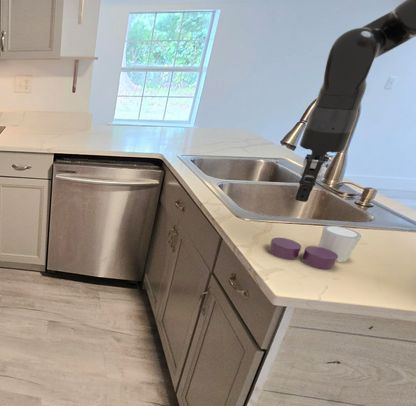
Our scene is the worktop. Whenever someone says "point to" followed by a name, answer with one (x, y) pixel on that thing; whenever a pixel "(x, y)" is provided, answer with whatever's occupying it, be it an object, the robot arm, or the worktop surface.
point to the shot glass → (339, 241)
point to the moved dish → (284, 248)
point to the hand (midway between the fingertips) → (303, 195)
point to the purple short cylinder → (319, 257)
